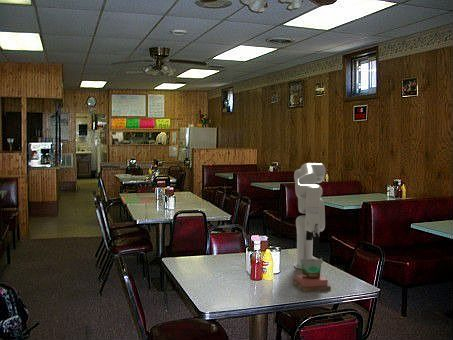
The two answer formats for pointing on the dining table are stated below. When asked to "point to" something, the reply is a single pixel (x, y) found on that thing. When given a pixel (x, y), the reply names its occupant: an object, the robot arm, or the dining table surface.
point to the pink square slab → (311, 281)
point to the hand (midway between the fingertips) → (312, 242)
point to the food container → (311, 268)
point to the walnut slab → (311, 289)
